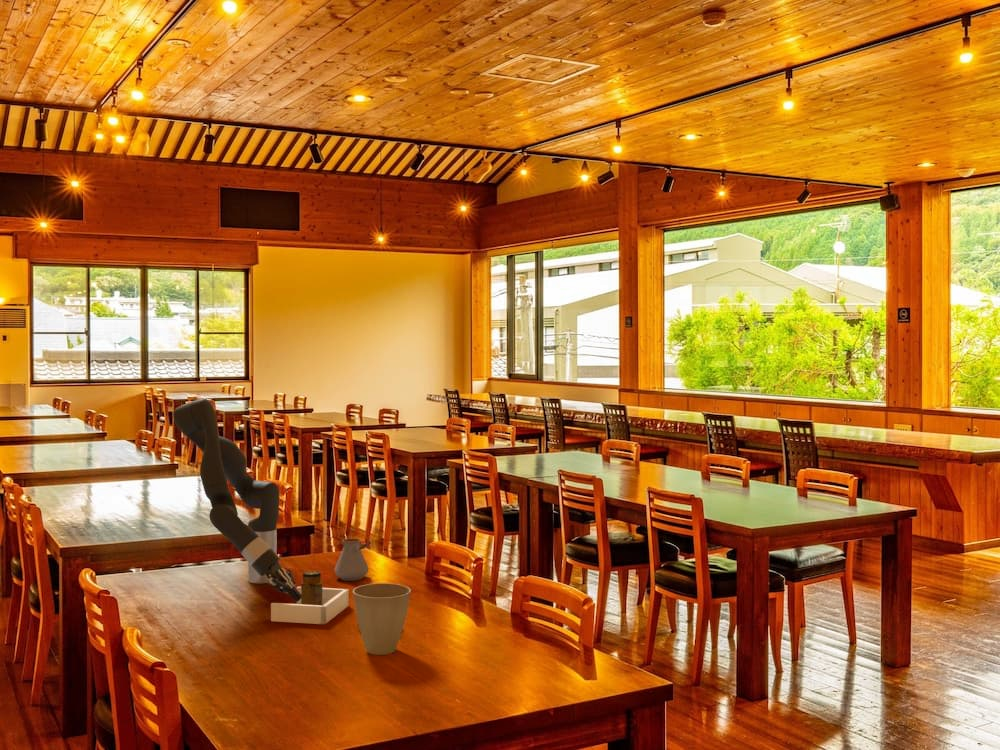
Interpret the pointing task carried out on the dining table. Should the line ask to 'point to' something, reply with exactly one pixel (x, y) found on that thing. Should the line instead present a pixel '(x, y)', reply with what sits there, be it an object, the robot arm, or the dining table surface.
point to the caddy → (312, 608)
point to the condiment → (311, 588)
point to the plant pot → (381, 615)
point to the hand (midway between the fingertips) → (299, 599)
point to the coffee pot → (352, 561)
